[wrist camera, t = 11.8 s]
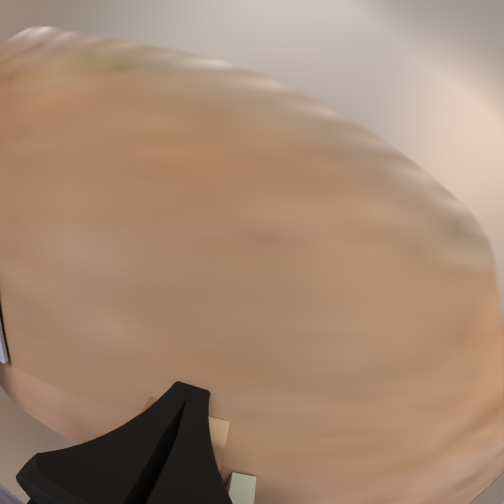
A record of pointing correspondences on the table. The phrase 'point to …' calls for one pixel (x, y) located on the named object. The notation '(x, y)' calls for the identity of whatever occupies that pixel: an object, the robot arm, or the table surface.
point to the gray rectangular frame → (492, 493)
